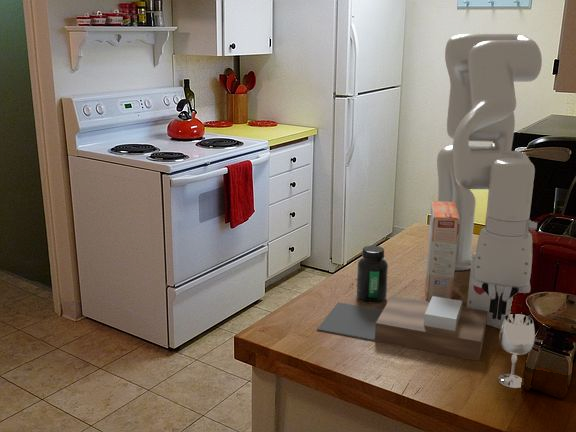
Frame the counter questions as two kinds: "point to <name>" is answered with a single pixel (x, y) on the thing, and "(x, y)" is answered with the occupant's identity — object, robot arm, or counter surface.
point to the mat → (351, 321)
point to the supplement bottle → (372, 275)
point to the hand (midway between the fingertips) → (497, 316)
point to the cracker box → (441, 250)
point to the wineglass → (515, 343)
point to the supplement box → (485, 299)
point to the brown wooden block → (430, 329)
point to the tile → (443, 313)
